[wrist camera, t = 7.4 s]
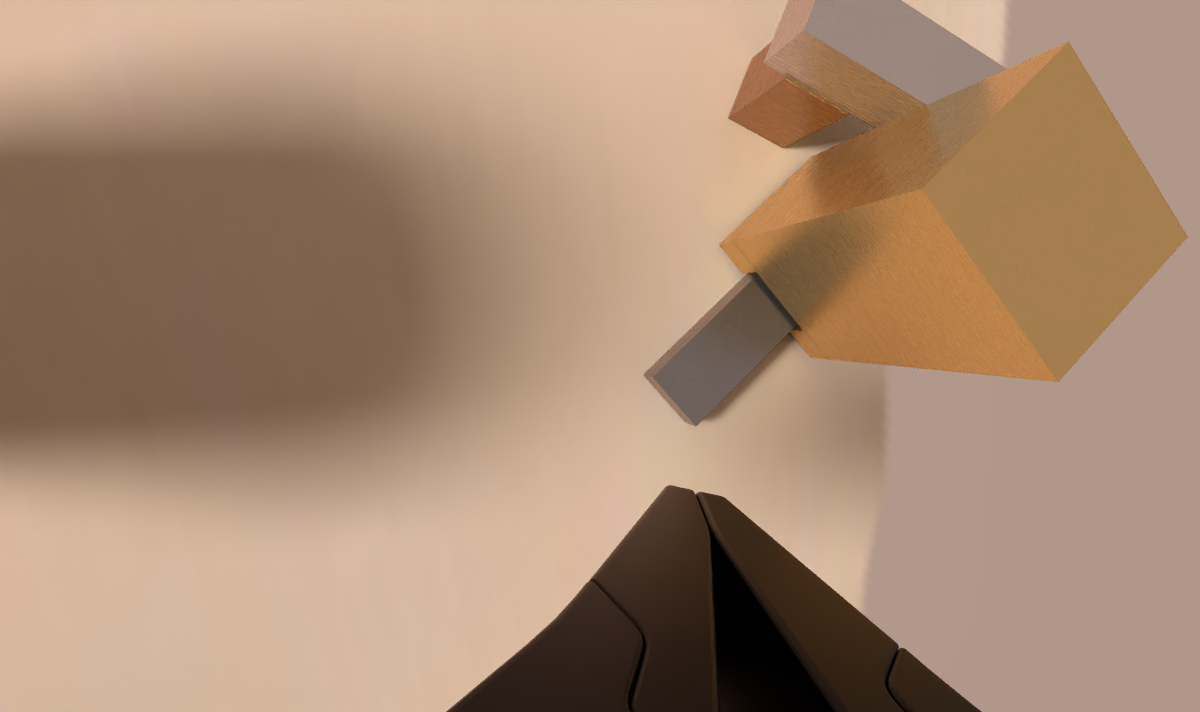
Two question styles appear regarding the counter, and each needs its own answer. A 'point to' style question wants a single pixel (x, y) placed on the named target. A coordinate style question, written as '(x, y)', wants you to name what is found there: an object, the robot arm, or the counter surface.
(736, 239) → the tan rectangular block
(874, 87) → the rig
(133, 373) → the counter surface
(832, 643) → the robot arm
